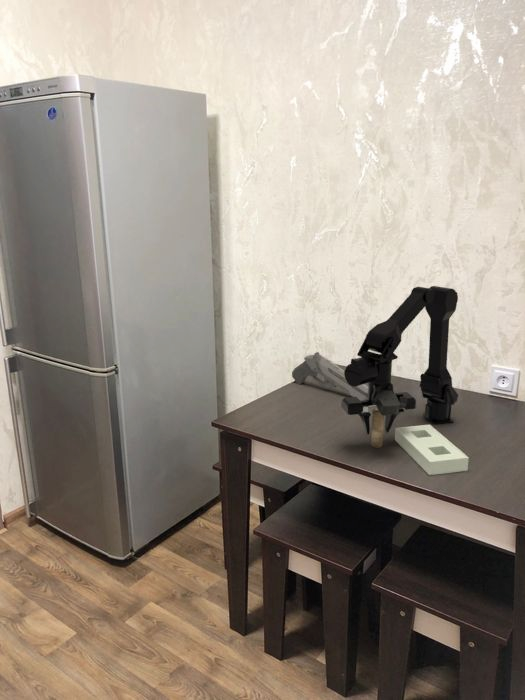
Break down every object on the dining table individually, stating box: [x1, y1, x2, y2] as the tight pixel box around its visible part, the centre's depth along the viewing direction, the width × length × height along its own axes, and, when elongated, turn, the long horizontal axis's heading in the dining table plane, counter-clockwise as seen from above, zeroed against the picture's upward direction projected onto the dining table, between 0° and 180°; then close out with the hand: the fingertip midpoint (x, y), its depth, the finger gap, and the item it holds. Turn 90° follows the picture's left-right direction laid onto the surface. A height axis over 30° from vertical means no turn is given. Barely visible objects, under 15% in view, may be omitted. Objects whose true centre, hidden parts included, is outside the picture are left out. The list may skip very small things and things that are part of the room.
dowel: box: [370, 407, 385, 449], centre depth 149 cm, size 3×3×10 cm
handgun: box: [291, 351, 368, 401], centre depth 190 cm, size 31×3×15 cm, turn 48°
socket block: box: [394, 424, 470, 476], centre depth 145 cm, size 20×10×4 cm, turn 11°
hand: (377, 433), depth 150 cm, fingers open, 5 cm apart
